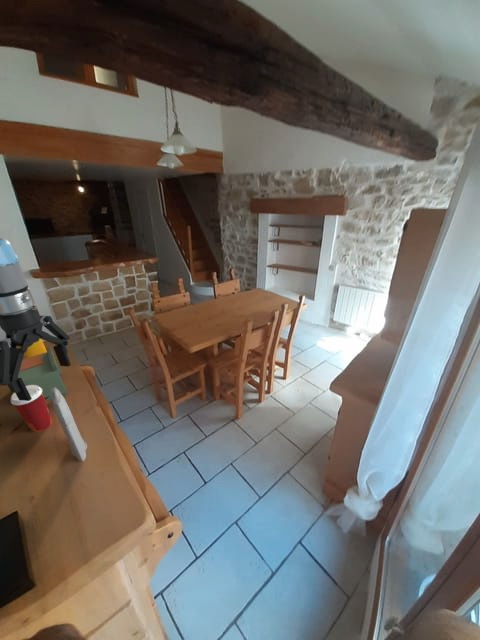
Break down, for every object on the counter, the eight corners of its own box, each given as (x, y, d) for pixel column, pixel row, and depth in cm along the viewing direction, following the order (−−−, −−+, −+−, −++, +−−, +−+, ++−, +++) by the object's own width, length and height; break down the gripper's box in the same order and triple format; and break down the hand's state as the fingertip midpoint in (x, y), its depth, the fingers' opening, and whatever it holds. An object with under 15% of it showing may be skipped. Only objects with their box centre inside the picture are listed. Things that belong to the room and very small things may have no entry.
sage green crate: (27, 408, 88) (12, 379, 82) (24, 384, 99) (11, 357, 93) (67, 393, 95) (55, 365, 89) (60, 372, 106) (50, 346, 100)
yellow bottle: (49, 357, 115) (25, 298, 102) (24, 365, 110) (-6, 305, 96) (45, 349, 121) (22, 292, 108) (21, 356, 115) (-7, 298, 102)
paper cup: (60, 413, 86) (45, 382, 80) (49, 432, 79) (32, 400, 73) (34, 417, 85) (18, 385, 78) (21, 436, 78) (2, 403, 72)
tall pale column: (91, 458, 72) (67, 401, 62) (75, 467, 70) (47, 409, 60) (83, 433, 79) (61, 379, 69) (68, 441, 77) (42, 385, 67)
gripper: (-27, 338, 46) (18, 419, 56) (69, 290, 68) (90, 355, 78) (-63, 335, 47) (-12, 416, 57) (44, 289, 69) (67, 353, 79)
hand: (47, 380), depth 67 cm, fingers open, 13 cm apart
